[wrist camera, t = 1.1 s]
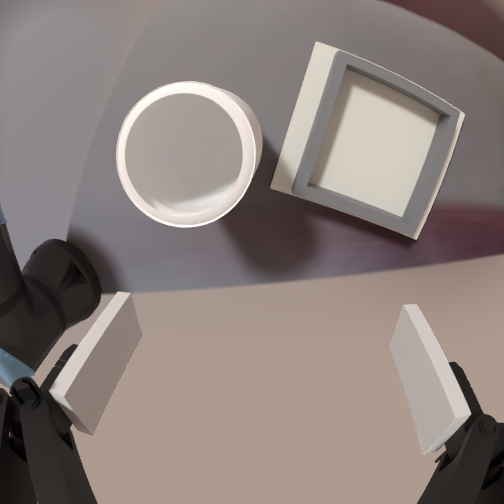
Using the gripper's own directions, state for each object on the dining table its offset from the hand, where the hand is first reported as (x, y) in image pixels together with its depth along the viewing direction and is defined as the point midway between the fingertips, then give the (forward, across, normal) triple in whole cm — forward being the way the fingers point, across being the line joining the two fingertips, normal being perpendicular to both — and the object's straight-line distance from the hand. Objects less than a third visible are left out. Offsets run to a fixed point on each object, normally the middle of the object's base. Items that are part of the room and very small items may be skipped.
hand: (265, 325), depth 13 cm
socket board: (+24, +12, +7) cm, 27 cm away
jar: (+24, -6, +6) cm, 26 cm away
